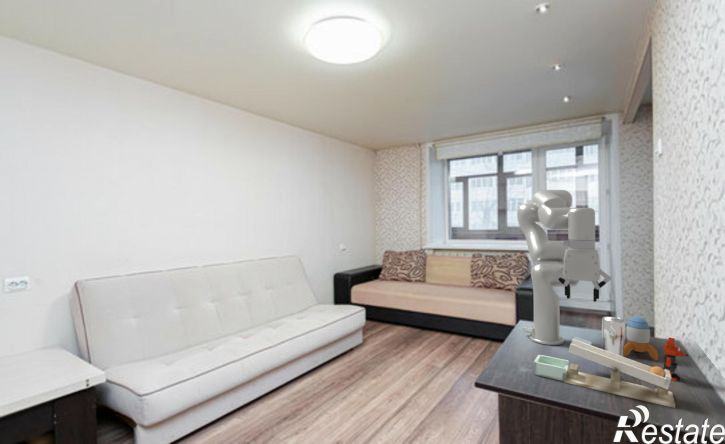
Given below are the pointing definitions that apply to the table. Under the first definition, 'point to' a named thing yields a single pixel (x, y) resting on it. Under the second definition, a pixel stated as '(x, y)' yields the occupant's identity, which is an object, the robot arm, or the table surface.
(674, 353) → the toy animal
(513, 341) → the table surface
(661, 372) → the ball
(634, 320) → the toy rocket
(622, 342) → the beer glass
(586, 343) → the lever
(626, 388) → the stand
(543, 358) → the tray
